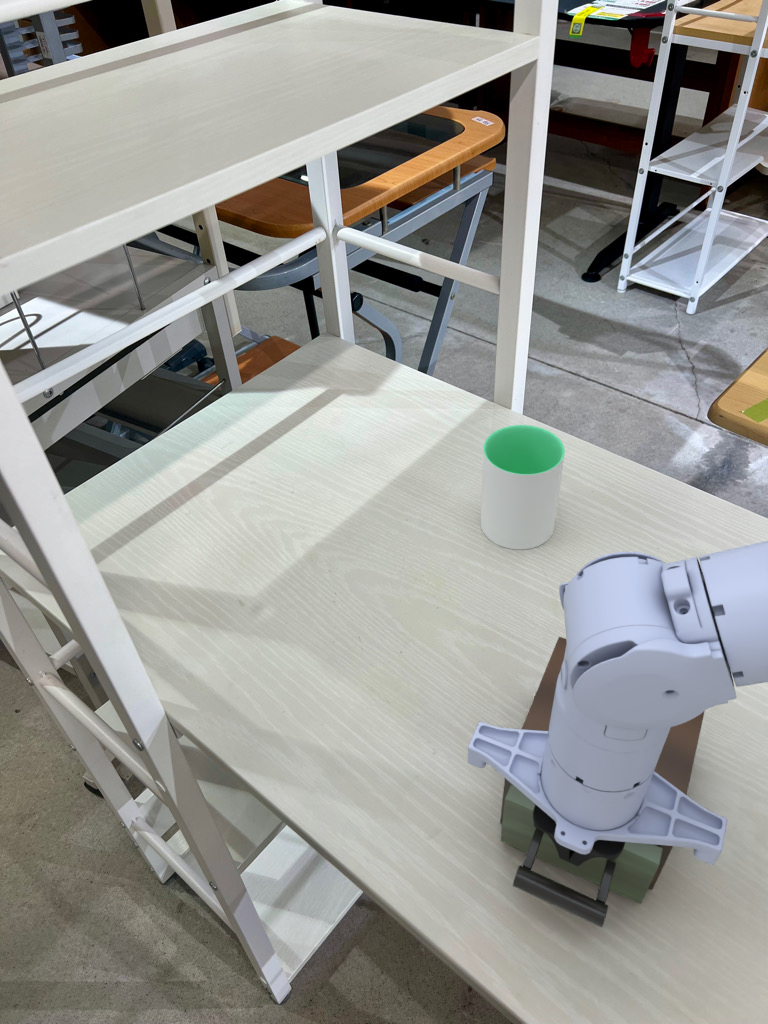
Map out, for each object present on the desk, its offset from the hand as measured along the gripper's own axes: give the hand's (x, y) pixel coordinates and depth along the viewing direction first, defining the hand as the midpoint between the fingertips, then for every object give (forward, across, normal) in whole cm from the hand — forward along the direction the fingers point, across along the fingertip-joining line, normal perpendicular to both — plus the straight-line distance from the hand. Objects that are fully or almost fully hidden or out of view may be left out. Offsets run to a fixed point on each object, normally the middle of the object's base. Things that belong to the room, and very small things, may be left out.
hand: (573, 848), depth 49 cm
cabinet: (+7, 0, +9) cm, 12 cm away
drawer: (+6, 0, +5) cm, 8 cm away
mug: (+8, -16, +37) cm, 41 cm away
